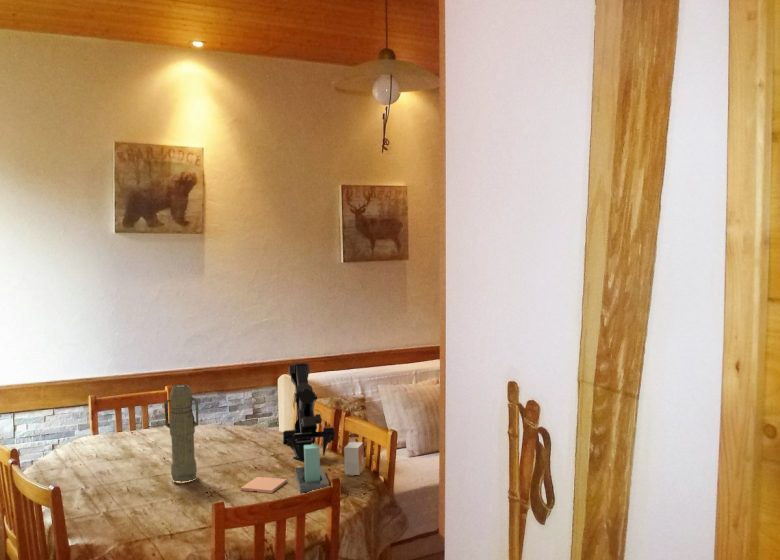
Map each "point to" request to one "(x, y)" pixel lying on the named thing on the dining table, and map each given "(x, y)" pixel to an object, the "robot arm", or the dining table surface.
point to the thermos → (182, 432)
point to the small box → (354, 458)
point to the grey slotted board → (313, 484)
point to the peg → (311, 463)
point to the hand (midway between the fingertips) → (311, 456)
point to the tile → (264, 484)
